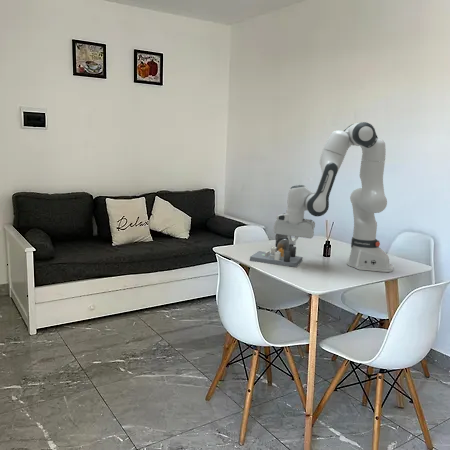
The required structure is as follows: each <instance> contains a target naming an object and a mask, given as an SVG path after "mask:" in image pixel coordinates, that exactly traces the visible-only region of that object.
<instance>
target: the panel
mask: <svg viewBox="0 0 450 450" xmlns="http://www.w3.org/2000/svg"><path fill="white" fill-rule="evenodd" d="M296 251H297V247H296V246H295V245H294V246H291V247H290V251H284V256H283V257H281V253H280V252H279V251H277V247H276V246H275V245H273V246H272V247H271V248H270V250H266V251H261V250H258V251H257V252H255V253H253V254H252V255H251V256H249V261H251V262H256V261H257V262H258V263H263V262H264V263H263V264H270V265H278V266H283V267H284V266H285V267H291V268H297V267H298V265H300V264H301V262H303V259H304V258H303V256H299V255H296V254H297V252H296ZM257 262H256V263H257Z"/></svg>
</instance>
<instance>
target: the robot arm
mask: <svg viewBox="0 0 450 450" xmlns="http://www.w3.org/2000/svg"><path fill="white" fill-rule="evenodd" d="M352 146H357V147H360V148H361V151H362V154H361V161H360V168H359V178H360V181H361V187H359V188H355V189H354V190H353V191H352V192H351V194H350V196H349V199H350V202H351V207H352V213H353V214H352V215H353V232H352V237H351V241H350V248H351V250H350V254H349V257H348V260H347V262H346V264H347V265H348V266H349V267H352V268H355V269H356V270H360V271H372V272H381V273H391V272H394V266H393V264H391V263H390V256H389V255H388V254H387V253H386V252H385V251H384V250H383V249H381V247H380V245H381V242H380V240H378V239H377V231H378V230H377V229H378V222H377V221H376V217H375V214H379V213H382V212H383V211H385V210H386V208H387V206H388V200H387V197H386V195H385V189H384V171H385V163H386V156H387V155H386V143H385V141H384V140H383V139H381V138H379V137H378V135H377V133H376V128H375V127H374V126H373V124H371V123H369V122H367V121H366V122H365V121H364V122H363V121H360V122H355V123H353V124H350V125H348V126H347V127H346V128H345V129H344V130H341V129H340V130H339V129H337V130H333V131H332V132H331V133H330V135H329V136H328V138H327V140H326V142H325V144H324V145H323V149H322V151H321V153H320V158H319V165H320V168H321V176H320V180H319V182H318V185H317V189H316V191H313V190H311V189H309V188H307V187H306V186H305V185H303V184H299V185H297V184H296V185H293V186H291V187H289V190H288V194H287V207H286V213H280V214H278V215H277V216H276V220H275V221H274V225H273V229H272V231H273V234H275V235H276V234H282V235H288V240H289V244H291V245H294V246H296V242H297V240H298V239H299V238H305V239H313V238H314V236H315V227H316V222H315V220H313V219H307V218H305V212H306V211H307V212H308V213H309V215H312V216H313V217H322V216H324V215H325V214H326V213H327V212H328V211H329V206H330V200H329V198H330V194H331V191H332V189H333V186H334V182H335V180H336V177H337V175H338V173H339V170H340V168H341V166H342V164H343V162H344V160H345V157H346V155H347V152H348V150H349V148H350V147H352ZM290 237H291V238H290ZM292 237H294V240H292V241H291V239H292Z"/></svg>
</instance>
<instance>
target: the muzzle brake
mask: <svg viewBox="0 0 450 450" xmlns="http://www.w3.org/2000/svg"><path fill="white" fill-rule="evenodd" d="M274 237H275V244H274V246H276V247H277V251H278V250H279V249H280V248H282V250H284V251H290V247H291V246H294V247H295V245H291V244H289V240H288V235H282V234H275V236H274ZM290 238H291V241H293V239H292V236H291V237H290Z"/></svg>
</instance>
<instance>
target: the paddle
mask: <svg viewBox="0 0 450 450" xmlns="http://www.w3.org/2000/svg"><path fill="white" fill-rule="evenodd" d="M278 251H279V252H280V253H281V257H283V256H284V250H282V248H280V249H279V250H278Z"/></svg>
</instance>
